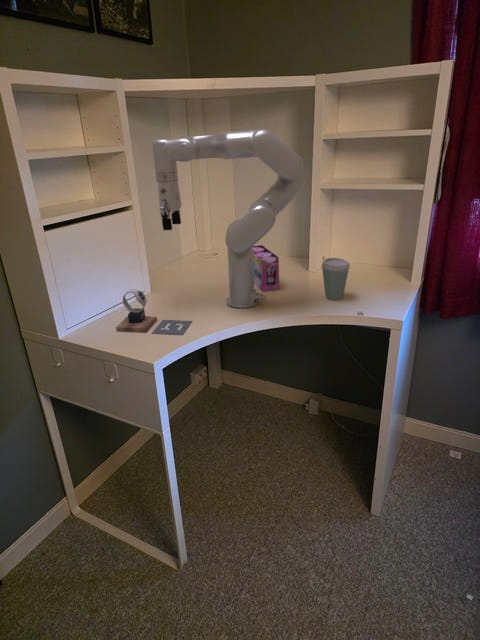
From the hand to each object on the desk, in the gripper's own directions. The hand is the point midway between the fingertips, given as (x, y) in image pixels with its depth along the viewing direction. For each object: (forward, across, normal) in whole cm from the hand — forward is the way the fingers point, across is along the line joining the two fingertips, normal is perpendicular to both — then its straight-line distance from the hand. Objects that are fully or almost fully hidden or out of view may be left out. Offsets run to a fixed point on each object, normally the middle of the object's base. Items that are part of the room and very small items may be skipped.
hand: (172, 226), depth 155 cm
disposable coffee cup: (+31, +12, -59) cm, 67 cm away
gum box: (+31, +28, -28) cm, 50 cm away
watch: (+29, -19, +10) cm, 36 cm away
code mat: (+30, -21, -4) cm, 37 cm away
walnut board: (+30, -21, +9) cm, 38 cm away
